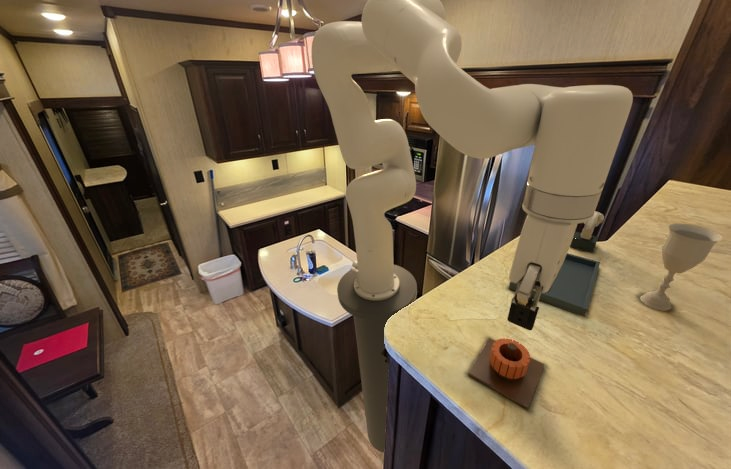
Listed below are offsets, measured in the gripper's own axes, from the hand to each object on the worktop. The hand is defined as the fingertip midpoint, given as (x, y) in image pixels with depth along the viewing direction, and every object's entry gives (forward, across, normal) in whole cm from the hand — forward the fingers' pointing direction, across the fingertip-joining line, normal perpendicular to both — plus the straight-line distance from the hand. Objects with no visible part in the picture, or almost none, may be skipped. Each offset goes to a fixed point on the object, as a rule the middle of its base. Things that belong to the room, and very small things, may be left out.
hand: (529, 305), depth 43 cm
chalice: (+17, -38, +19) cm, 46 cm away
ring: (+15, -1, -1) cm, 15 cm away
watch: (+17, -56, +3) cm, 58 cm away
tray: (+17, -35, 0) cm, 38 cm away
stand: (+17, -1, -1) cm, 17 cm away
